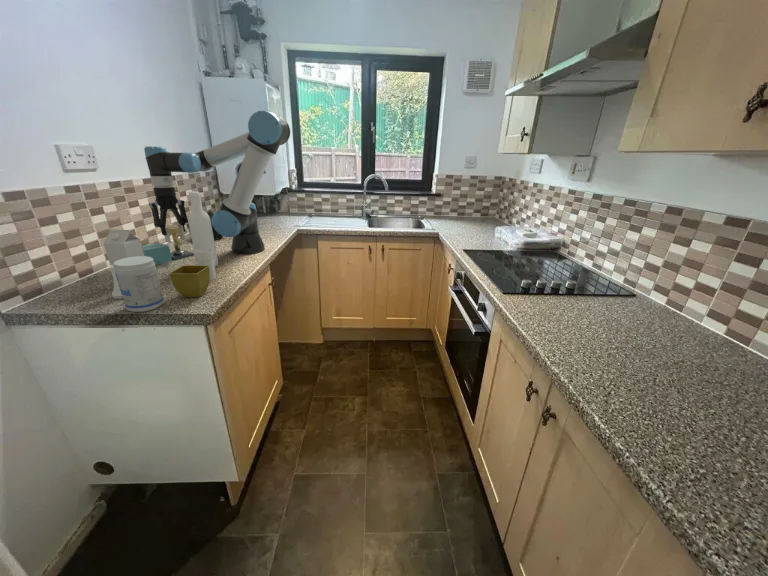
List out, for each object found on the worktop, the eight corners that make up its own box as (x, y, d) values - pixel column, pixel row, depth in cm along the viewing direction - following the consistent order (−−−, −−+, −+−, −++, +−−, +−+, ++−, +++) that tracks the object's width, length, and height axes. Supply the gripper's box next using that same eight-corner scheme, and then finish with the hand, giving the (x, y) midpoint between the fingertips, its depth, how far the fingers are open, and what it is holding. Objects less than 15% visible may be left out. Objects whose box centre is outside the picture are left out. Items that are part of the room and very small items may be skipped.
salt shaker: (107, 296, 102) (97, 266, 99) (132, 288, 109) (124, 260, 105) (121, 300, 100) (112, 270, 96) (146, 292, 106) (138, 263, 102)
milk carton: (132, 277, 118) (117, 227, 110) (150, 278, 117) (136, 227, 110) (116, 284, 111) (99, 231, 104) (135, 285, 111) (120, 232, 104)
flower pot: (188, 289, 109) (182, 264, 106) (214, 289, 110) (209, 265, 106) (174, 300, 101) (167, 273, 98) (202, 300, 102) (197, 273, 98)
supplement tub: (118, 309, 94) (103, 262, 88) (150, 297, 102) (138, 254, 96) (141, 315, 91) (127, 267, 85) (172, 303, 99) (161, 258, 93)
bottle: (218, 262, 137) (206, 190, 126) (218, 267, 131) (205, 192, 119) (197, 264, 134) (183, 191, 123) (196, 270, 127) (180, 193, 116)
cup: (209, 274, 123) (203, 247, 119) (222, 276, 121) (217, 249, 117) (194, 279, 118) (188, 251, 113) (208, 282, 116) (202, 253, 111)
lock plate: (195, 255, 145) (194, 250, 144) (175, 260, 138) (174, 255, 137) (183, 252, 149) (181, 247, 148) (163, 257, 142) (162, 251, 141)
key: (181, 247, 147) (176, 224, 143) (187, 255, 137) (181, 230, 132) (171, 248, 145) (166, 225, 140) (176, 256, 134) (170, 231, 130)
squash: (202, 233, 162) (215, 209, 166) (185, 230, 170) (199, 207, 173) (224, 247, 174) (236, 224, 178) (208, 244, 181) (220, 222, 185)
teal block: (172, 261, 137) (168, 245, 135) (149, 266, 130) (145, 250, 127) (162, 258, 141) (158, 242, 138) (139, 263, 134) (135, 247, 131)
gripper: (144, 188, 123) (158, 246, 132) (190, 185, 138) (201, 237, 147) (133, 187, 126) (148, 243, 135) (180, 184, 141) (190, 235, 150)
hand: (175, 240), depth 141 cm, fingers closed on key, 6 cm apart
